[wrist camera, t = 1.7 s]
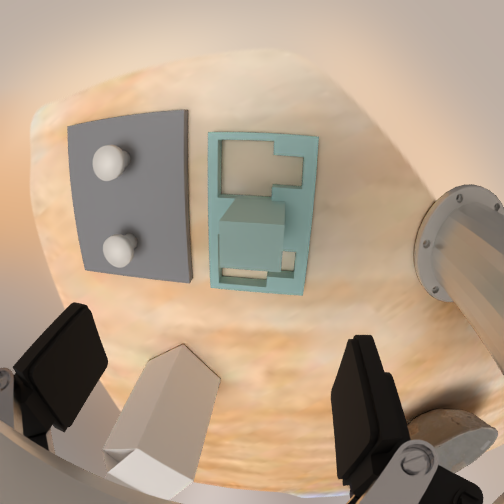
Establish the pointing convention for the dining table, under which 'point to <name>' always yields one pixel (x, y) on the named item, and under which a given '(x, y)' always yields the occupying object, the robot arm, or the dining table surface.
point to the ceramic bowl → (453, 436)
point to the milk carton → (162, 425)
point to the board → (133, 195)
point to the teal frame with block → (261, 220)
